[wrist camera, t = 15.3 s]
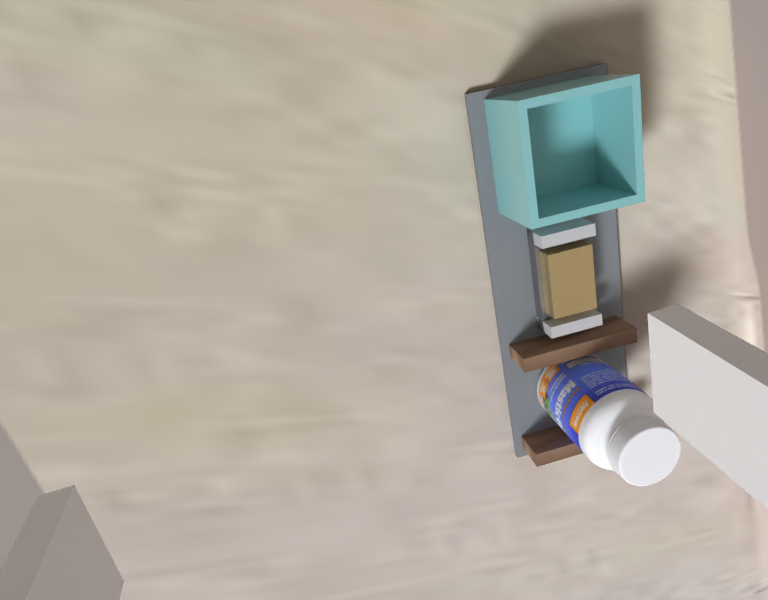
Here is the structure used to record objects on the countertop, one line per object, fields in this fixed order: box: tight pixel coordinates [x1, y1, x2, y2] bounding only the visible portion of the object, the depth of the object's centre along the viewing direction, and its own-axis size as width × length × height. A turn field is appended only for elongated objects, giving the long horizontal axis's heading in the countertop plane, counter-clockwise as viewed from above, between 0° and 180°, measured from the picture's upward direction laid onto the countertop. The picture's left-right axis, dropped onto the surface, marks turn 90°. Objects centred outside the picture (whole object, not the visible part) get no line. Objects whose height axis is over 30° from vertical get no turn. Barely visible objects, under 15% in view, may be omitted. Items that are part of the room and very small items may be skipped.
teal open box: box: [484, 74, 645, 230], centre depth 36 cm, size 7×7×5 cm
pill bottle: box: [537, 354, 681, 486], centre depth 40 cm, size 6×5×10 cm
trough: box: [509, 315, 637, 467], centre depth 44 cm, size 8×8×2 cm
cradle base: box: [526, 217, 603, 338], centre depth 41 cm, size 7×4×2 cm, turn 11°
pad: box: [539, 240, 597, 319], centre depth 40 cm, size 4×3×1 cm
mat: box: [465, 63, 626, 457], centre depth 42 cm, size 26×9×1 cm, turn 11°
